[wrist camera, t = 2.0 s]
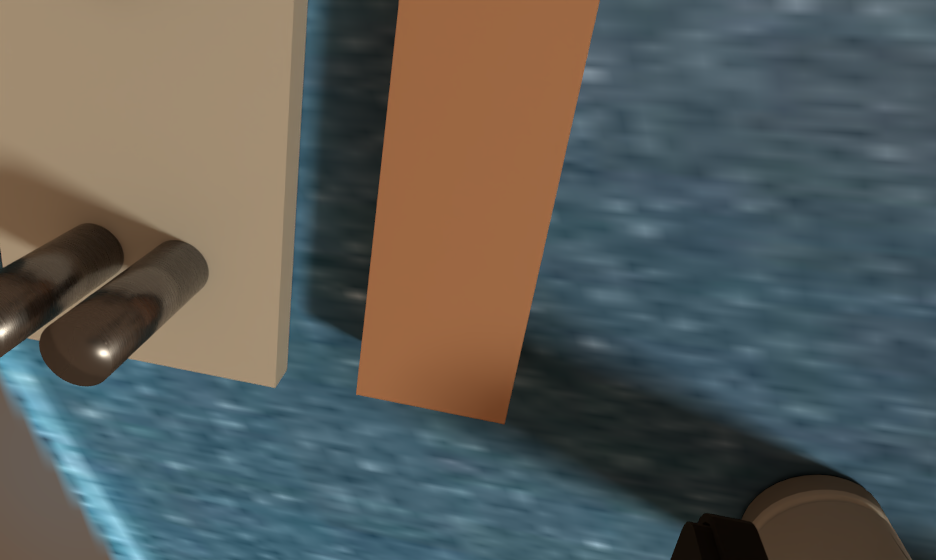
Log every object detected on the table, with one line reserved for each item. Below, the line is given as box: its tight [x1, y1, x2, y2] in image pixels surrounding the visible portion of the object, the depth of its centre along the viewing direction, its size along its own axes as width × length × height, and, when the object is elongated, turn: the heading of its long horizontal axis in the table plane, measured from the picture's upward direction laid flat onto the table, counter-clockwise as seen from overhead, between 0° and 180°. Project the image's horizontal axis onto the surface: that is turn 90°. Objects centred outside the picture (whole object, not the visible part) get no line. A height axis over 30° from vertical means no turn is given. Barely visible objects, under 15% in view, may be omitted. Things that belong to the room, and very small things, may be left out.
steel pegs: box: [0, 223, 209, 386], centre depth 23 cm, size 16×6×7 cm, turn 171°
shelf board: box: [356, 0, 600, 424], centre depth 25 cm, size 20×6×4 cm, turn 171°
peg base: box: [0, 0, 308, 388], centre depth 27 cm, size 24×12×2 cm, turn 171°
